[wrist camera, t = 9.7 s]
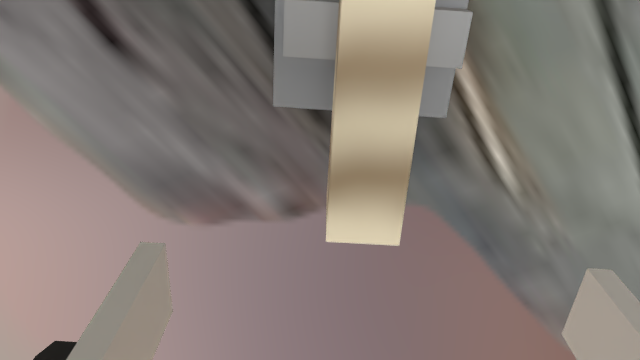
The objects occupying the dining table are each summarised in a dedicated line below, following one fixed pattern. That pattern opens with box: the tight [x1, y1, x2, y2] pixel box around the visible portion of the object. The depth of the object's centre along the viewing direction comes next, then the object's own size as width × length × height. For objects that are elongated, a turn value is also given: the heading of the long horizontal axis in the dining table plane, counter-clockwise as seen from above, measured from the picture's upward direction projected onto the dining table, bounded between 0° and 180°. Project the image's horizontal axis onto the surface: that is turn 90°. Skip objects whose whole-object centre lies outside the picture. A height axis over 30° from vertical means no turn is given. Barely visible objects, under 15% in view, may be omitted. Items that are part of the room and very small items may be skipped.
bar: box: [326, 0, 436, 246], centre depth 23 cm, size 20×4×5 cm, turn 177°
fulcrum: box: [273, 0, 473, 118], centre depth 28 cm, size 12×12×6 cm
